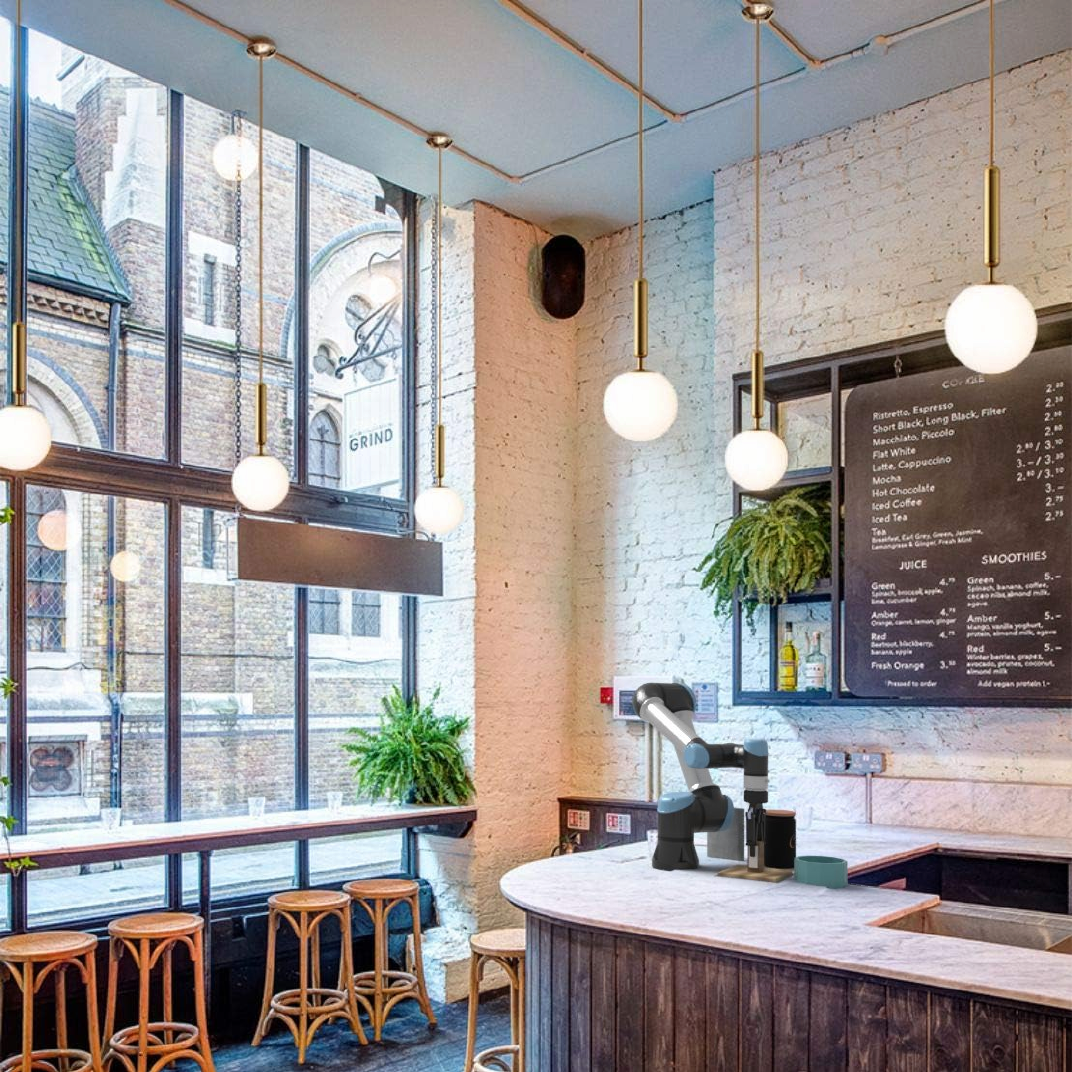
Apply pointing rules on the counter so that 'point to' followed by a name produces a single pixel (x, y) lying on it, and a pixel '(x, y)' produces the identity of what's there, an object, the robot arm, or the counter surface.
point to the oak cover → (756, 869)
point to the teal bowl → (821, 871)
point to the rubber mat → (759, 880)
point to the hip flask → (728, 840)
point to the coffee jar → (780, 839)
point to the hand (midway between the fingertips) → (755, 866)
